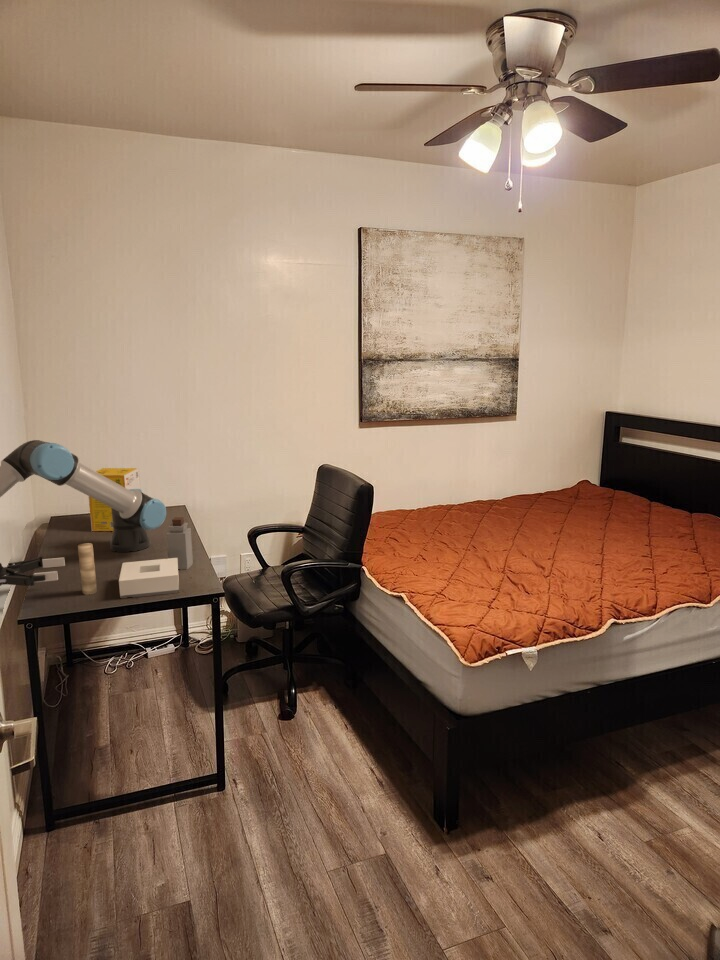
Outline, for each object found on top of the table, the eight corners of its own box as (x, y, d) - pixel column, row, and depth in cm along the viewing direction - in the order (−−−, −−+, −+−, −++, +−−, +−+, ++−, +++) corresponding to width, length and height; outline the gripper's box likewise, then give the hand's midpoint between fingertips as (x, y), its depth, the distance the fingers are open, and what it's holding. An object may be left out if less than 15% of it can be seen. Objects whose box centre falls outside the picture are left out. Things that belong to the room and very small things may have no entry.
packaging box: (107, 521, 291) (103, 468, 286) (142, 522, 290) (138, 468, 285) (91, 532, 275) (86, 475, 270) (128, 532, 274) (124, 475, 269)
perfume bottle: (174, 563, 235) (171, 516, 231) (192, 563, 235) (190, 516, 231) (168, 569, 228) (165, 521, 225) (187, 569, 228) (184, 521, 224)
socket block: (124, 579, 219) (122, 562, 218) (178, 573, 224) (177, 557, 222) (120, 598, 202) (118, 580, 201) (179, 592, 207) (178, 575, 206)
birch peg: (83, 590, 209) (78, 543, 206) (97, 588, 210) (93, 542, 207) (81, 595, 205) (76, 547, 202) (96, 593, 206) (91, 546, 203)
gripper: (-2, 573, 210) (68, 566, 216) (-24, 601, 187) (55, 593, 192) (-5, 551, 209) (66, 545, 214) (-27, 577, 185) (52, 570, 191)
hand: (61, 568), depth 203 cm, fingers open, 13 cm apart
